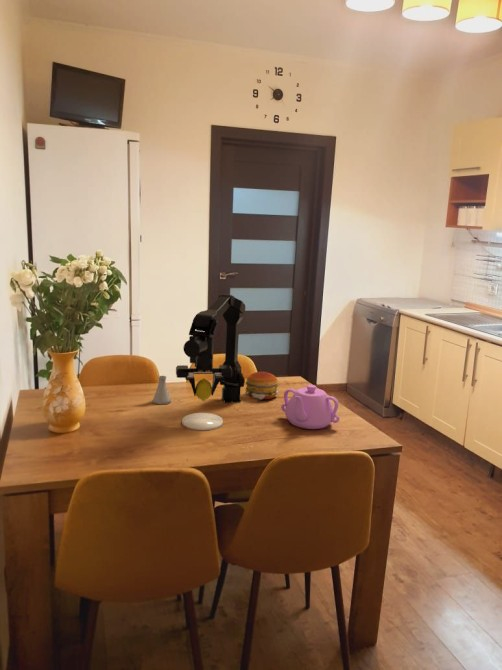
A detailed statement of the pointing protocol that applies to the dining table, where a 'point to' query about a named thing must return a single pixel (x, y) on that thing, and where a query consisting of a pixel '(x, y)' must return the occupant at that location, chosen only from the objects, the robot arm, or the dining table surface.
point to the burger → (262, 385)
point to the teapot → (310, 408)
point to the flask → (161, 392)
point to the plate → (202, 421)
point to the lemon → (203, 389)
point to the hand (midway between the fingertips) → (203, 395)
